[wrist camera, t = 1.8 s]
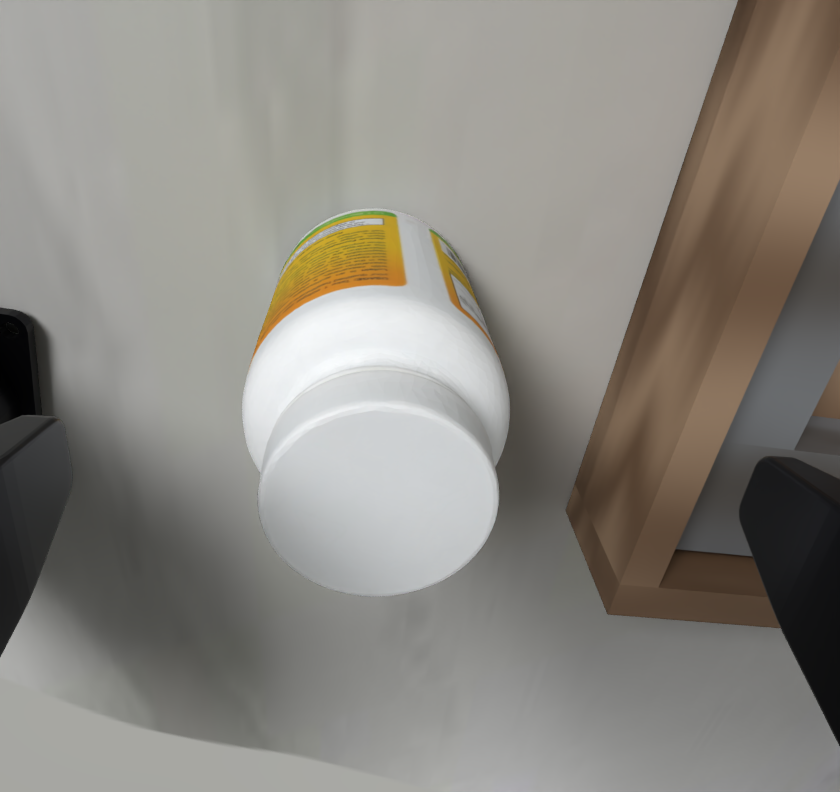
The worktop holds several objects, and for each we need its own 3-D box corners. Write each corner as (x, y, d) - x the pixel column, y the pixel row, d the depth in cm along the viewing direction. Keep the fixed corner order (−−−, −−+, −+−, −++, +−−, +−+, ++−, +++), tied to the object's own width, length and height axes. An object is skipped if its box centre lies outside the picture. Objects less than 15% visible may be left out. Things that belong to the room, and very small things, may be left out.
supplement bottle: (253, 345, 21) (170, 583, 12) (318, 171, 19) (273, 307, 10) (421, 406, 23) (456, 659, 14) (500, 250, 20) (605, 433, 11)
